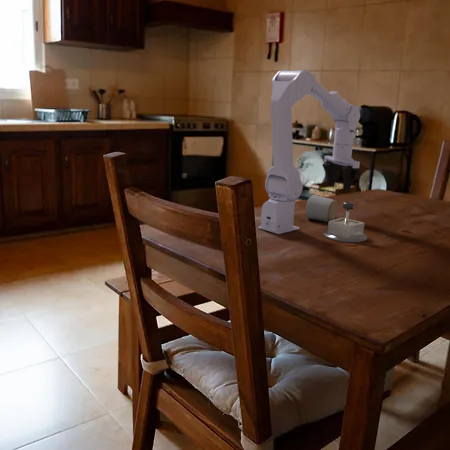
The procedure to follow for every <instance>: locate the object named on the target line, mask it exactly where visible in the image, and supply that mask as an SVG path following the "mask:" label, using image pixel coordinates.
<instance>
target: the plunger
mask: <svg viewBox="0 0 450 450" xmlns="http://www.w3.org/2000/svg"><path fill="white" fill-rule="evenodd" d="M354 207H355V202H352V201H343V202H342V209H344V210H346V211H345V217H344V218H345V220H343V221H338V223H342V224H346V225H353V224H357V223H354V222H350V221H348V220H349V219H350V211H351V210H354Z"/></svg>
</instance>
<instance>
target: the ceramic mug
mask: <svg viewBox="0 0 450 450" xmlns="http://www.w3.org/2000/svg"><path fill="white" fill-rule="evenodd" d="M338 209H339V203H338V202H337V201H336V200H335V199H332V198H328V197H325V196H321V195H317V194H312V195H310V196H309V198H308V200H307V203H306V207H305V216H306V218H307V219H308V220H313V221H314V220H315V221H320V222H324V223H328V219H334V220H335V219H336V218H337V214H338Z"/></svg>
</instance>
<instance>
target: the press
mask: <svg viewBox="0 0 450 450" xmlns="http://www.w3.org/2000/svg"><path fill="white" fill-rule="evenodd" d="M343 220H345V217H340V218H335V219H328V222H327V230H324V231H323V236H324V237H325V238H327V239H329V240H332V241H336V242H339V243H340V242H342V243H352V244H354V243H363V242H366V241H367V240H368V236H367V235H366V234H365V233H364V231H365V222H363V221H358V220H355V219H352V218H351V219H350V218H349V220H348V221H350V222H354V223H357V224H353V225H346V224H342V223H338V221H343Z"/></svg>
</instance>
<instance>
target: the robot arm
mask: <svg viewBox="0 0 450 450" xmlns="http://www.w3.org/2000/svg"><path fill="white" fill-rule="evenodd" d="M271 84H272V85H271V89H272V93H271V97H270V118H271V119H270V121H271V138H272V140H271V143H272V161H273V165H272V166H271V167H270V168H269V169H267V170H266V179H265V183H264V188H265V191H266V193H268V195H267V196H268V198H269V199H268V200H266V201H265V202H264V203H263V204H262V206H261V212H260V213H261V215H260V225H259V226H258V229H260V230H264V231H266V232H270V233H274V234H276V235H277V234H278V235H281V234H284V233H288V232H293V231H297V230H300V227H299V226H295V225H294V224H295V223H294V219H295V209H296V208H295V207H296V201H297V200H298V198H299V197H300V196H301V194H302V192H303V188H304V187H303V182H302V179H301V173H300V171H299V170H298V169H297V167H296V166H295V165H294V146H293V145H294V144H293V142H294V141H293V120H292V119H293V118H292V117H293V116H292V108H293V106H294V105H295V104H296V103H298V102H299V101H300V100H301V99H303V98H305V96H307V95H310V96H311V97H313V98H314V99H315V100H318V102H320V106H321V109H323V110H324V111H325V112H327V113H328V114H330V115H331V117H332V118H331V119H332V121H333V122H334V123H335V127H334V140H333V146H332V147H333V148H332V155H324V159H323V163H322V167H323V170H324V172H325V177H326V181H327V182H326V184H327V186H328V187H333V186H334V187H335V184H336V179H337V178H336V177H337V175H338V171H339V168H340V166H341V171H342V178H343V180H342V181H343V182H342V189H343V191H351V188H352V186H353V183H354V180H355V178H356V176H357V175H358V174H359V173H360V170H361V169H360V164H361V162H360V161H357V160H355V159H354V158H352V154H353V145H354V136H355V135H354V134H355V131H356V129H357V127H358V126H357V125H358V123H359V121H360V119H361V112H360V109H359V107H357V105H356V104H350V103H349V101H348V99H344V98H343V97H342V96H341V95H340V92H338V91H328V90H327V89H326V88H325V87H324V86H323V84H322V83H320V82H319V81H318V80H317V79H316V75H315V74H313V73H312V72H311V71H310V70H308V69H303V70H302V69H301V70H295V69H294V70H285V69H281V70H279V71H278V72H277V73H276V74H275V75H274V77H273V78H272V79H271Z"/></svg>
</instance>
